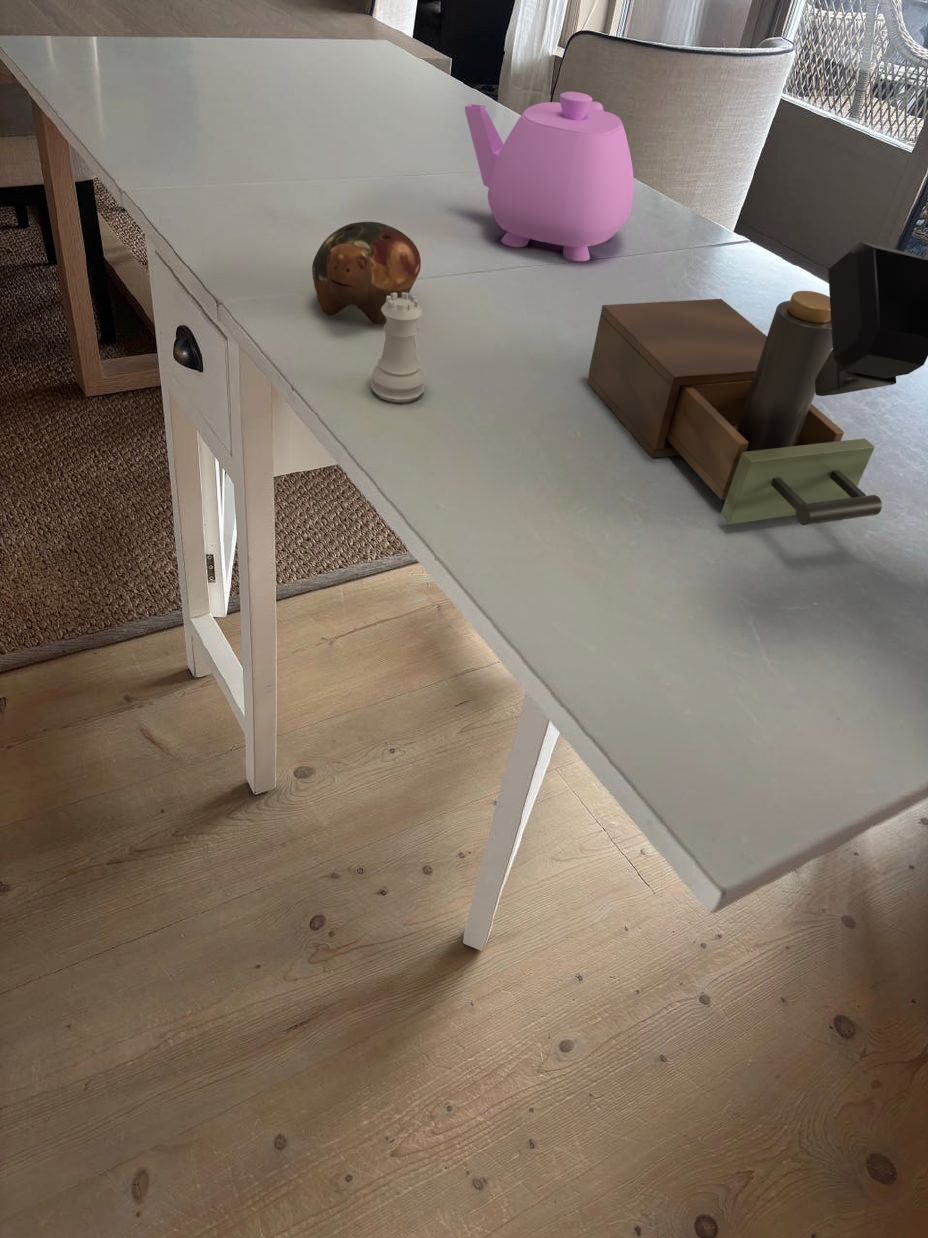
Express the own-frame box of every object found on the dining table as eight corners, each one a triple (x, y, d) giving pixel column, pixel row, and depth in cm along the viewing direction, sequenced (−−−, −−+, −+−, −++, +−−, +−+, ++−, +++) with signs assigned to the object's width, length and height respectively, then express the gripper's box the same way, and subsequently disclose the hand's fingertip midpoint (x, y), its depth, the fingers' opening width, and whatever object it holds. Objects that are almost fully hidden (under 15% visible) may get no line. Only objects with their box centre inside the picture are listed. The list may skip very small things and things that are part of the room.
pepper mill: (791, 482, 70) (857, 316, 61) (734, 478, 70) (791, 310, 61) (776, 451, 73) (836, 288, 65) (721, 447, 73) (774, 283, 64)
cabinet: (775, 444, 78) (803, 366, 73) (652, 458, 75) (674, 376, 70) (700, 372, 87) (721, 298, 82) (586, 381, 83) (602, 304, 78)
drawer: (887, 545, 67) (918, 483, 64) (764, 564, 64) (790, 500, 60) (764, 428, 78) (785, 370, 75) (654, 440, 75) (670, 379, 71)
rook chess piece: (383, 408, 76) (387, 314, 71) (362, 382, 79) (364, 290, 74) (433, 400, 78) (440, 307, 73) (410, 375, 81) (416, 284, 76)
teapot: (487, 190, 119) (502, 55, 109) (641, 223, 116) (670, 87, 106) (432, 238, 105) (443, 88, 95) (604, 278, 101) (635, 126, 91)
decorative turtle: (294, 334, 84) (289, 242, 80) (339, 282, 96) (337, 199, 92) (399, 346, 84) (401, 254, 79) (432, 292, 96) (435, 209, 91)
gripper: (1244, 151, 47) (991, 307, 62) (941, 58, 42) (744, 252, 57) (1277, 355, 45) (1007, 467, 60) (961, 282, 40) (750, 424, 54)
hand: (881, 399), depth 58 cm, fingers open, 9 cm apart
